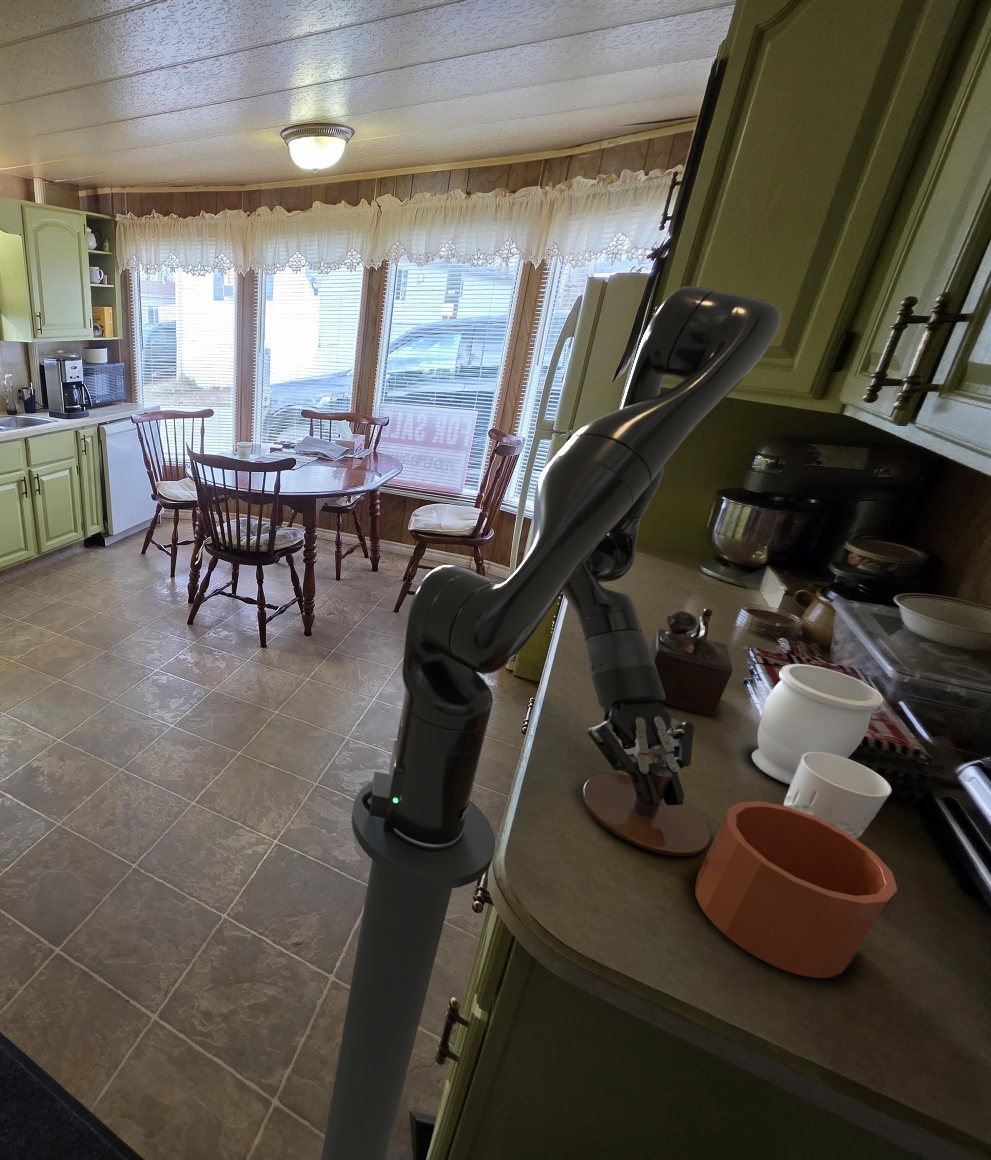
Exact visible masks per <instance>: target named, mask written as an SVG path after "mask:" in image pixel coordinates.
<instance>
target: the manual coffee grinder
mask: <svg viewBox="0 0 991 1160" xmlns="http://www.w3.org/2000/svg"><path fill="white" fill-rule="evenodd" d="M712 615H713V610H712V609H711V608H704V609H702V615H700V616H699V618H698V620H697V617H695V615H693V613H689V612H687V611H684V610H682V611H672V613H670V614H669V615H667V617H666V619H665V621H666V623H667V625H668V630H667V629H663V628H658V629H657V630H656V631H655V635H654V637H653V640H652V643H651V645H650V650H651V652H652V656H653V659H654V662H655V665H656V668H657V671H658V674H659V677H660V680H661V683H662V686H663V690H664V693H665V696H666V697H665V700H664V706H669V707H672V708H676V709H679V710H683V711H687V712H690V713H693V714H698V715H703V716H706V717H713V716H714V713H715V711H716V709H717V707H718V705H719V703H720V701H721V699H722V696H723V694H724V693H725V690H726V687H727V684H728V683H729V680H730V678H731V676H732V673H733V665H732V662H731V656H730V653H729V649H728V645H727V644H725V643H721V642H717V641H714V640H710V639H707V638H708V635H709V625H710V622H711V616H712ZM698 621H699V622H698ZM698 623H699V624H698ZM696 627H697V628H696ZM694 629H696V630H695V633H691V632H692V631H693V630H694Z"/></svg>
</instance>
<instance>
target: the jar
mask: <svg viewBox="0 0 991 1160" xmlns="http://www.w3.org/2000/svg"><path fill="white" fill-rule="evenodd" d="M778 677H779V679H780V680H779V681H778V682H777V684H776V685H774V687H773V688H772V690H771V691H770V693H769V695H768V696H767V697H766V698H767V699H766V700H765V702H764V704H763V707H762V711H761V715H760V721H759V722H760V723H759V726H758V730H757V738H756V739H757V745H758V746H757V747H758V748H757V749H755V750H753V752H752V754H751V760H752V761H753V763H754V764H755V766H756V767H757V768H758V769H759V770H761V771H762V772H764V773H765V774H767V775H768V776H770V777H772V778H773V779H775V780H777V781H780V782H782V783H784V784H787V785H789V786H790V785H791V782H792V780H793V778H794V775H795V773H796V770H797V768H798V766H799V763H800V761H801V758H802V756H803V755H804V754H805V753H808V752H824V753H829V754H834V755H838V756H841V757H844V758H847V759H849V757H850V756H851V755H852V754H853V753H854V752H855V751H856V750H857V748H858V747H859V746H860V744H861V743H862V742H863V740H864V738H865V736H866V734H867V732H868V729H869V727H870V726H869V725H870V723H871V718H872V711H875V710H877V709H878V708H880V706H881V705H882V703H883V701H884V697H883V696H882V694H881V693H880V692H879V691H877V690H876V688H873V687H872V686H870V685H869V684H867V683H866V682H864V681H862V680H860V679H857V678H855V677H853V676H850V675H848V674H845V673H842V672H839V671H837V670H833V669H829V668H825V667H821V666H817V665H811V664H805V663H804V664H803V663H789V664H785V665H783V666H781V668H780V670H779V673H778Z"/></svg>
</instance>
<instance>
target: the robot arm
mask: <svg viewBox="0 0 991 1160" xmlns="http://www.w3.org/2000/svg"><path fill="white" fill-rule="evenodd" d="M781 324H782V312H781V310H780V308H779V307H778V306H777V305H776V304H774V303H772V302H770V301H767V300H765V299H761V298H757V297H753V296H748V295H747V296H746V295H741V294H737V293H732V292H726V291H722V290H721V291H720V290H716V289H712V288H706V287H700V286H693V285H685V286H682V287H679V288H678V289H676V290H674V291H673V292H672V293H671V294H670V295H669V296H668V297H666V298H665V300H664V301H663V302H662V303H661V305H660V306H659V307H658V308H657V310H656V312H655V313H654V315H653V316H652V318H651V319H650V322H649V324H648V325H647V328H646V330H645V332H644V334H643V337H642V339H641V342H640V345H639V347H638V350H637V353H636V357H635V358H634V363H633V366H632V369H631V373H630V376H629V380H628V383H627V386H626V389H625V391H624V392H625V393H624V396H623V398H622V403H621V406H620V409H617V410H614V411H613V412H610V413H607V414H606V415H603V416H600V417H598V418H597V419H594V420H592V421H590V422H589V423H587V424H586V425H584V426H582V427H581V428H580V429H579V430H577V431H576V432H574V433H573V435H572V436H571V437H570V438H569V440H567V442H566V443H565V444H564V445H563V446H562V448H561V449H560V450H559V451H558V452H557V453H556V455H554V457H553V458H552V459H551V461H550V462H548V464H547V465H546V466H545V468H544V469H543V470H542V472H541V474H540V475H539V477H538V480H537V482H536V486H535V492H534V500H533V532H532V540H531V544H530V548H529V549H528V552H527V554H526V555H525V557H524V559H523V560H522V562H521V563H520V565H519V566H518V567H517V568H516V570H515V571H514V572H513V573H512V575H511V576H510V577H509V578H508V579H506V580H505V581H504V582H502V583H500V582H498V581H495V580H493V579H491V578H489V577H486V576H483V575H481V574H478V573H476V572H474V571H472V570H470V569H467V568H465V567H461V566H458V565H453V564H446V565H440V566H438V567H436V568H434V569H432V570H431V571H430V572H429V573H427V574H426V576H425V577H423V579H422V580H421V581H420V583H419V584H418V587H417V588H416V589H415V592H414V594H413V596H412V600H411V603H410V605H409V610H408V615H407V621H406V629H405V638H404V639H405V640H404V648H403V656H402V657H403V658H402V666H401V678H402V683H403V686H404V695H403V702H402V705H401V706H402V707H401V713H400V719H399V724H398V731H397V736H396V739H394V740H393V741H394V742H393V746H392V751H391V752H392V753H391V759H390V763H389V764H390V765H389V770H388V773H384V772H379V771H373V778H372V781H373V783H372V790H371V791H369V792H367V793H366V794H364V795H363V797H362V803H363V805H364V807H365V808H366V809H367V810H368V811H369V812H370V816H375V817H379V818H384V826H383V830H384V831H385V832H389V833H392V834H394V835H395V836H396V837H397V838H399V839H400V840H402V841H403V842H405V843H407V844H408V845H410V846H413V847H415V848H418V849H422V850H427V851H444V850H447V849H450V848H452V847H454V846H455V845H457V844H458V842H459V841H460V839H461V837H462V833H463V828H464V821H465V817H466V814H467V812H468V811H469V810H470V808H471V806H472V802H473V801H474V799H472V800H470V799H471V796H472V792H473V788H474V784H475V779H476V775H477V771H478V766H479V763H480V758H481V754H482V750H483V745H484V743H485V737H486V734H487V729H488V725H489V720H490V717H491V713H492V708H493V703H494V697H493V693H492V690H491V688H490V687H489V685H488V683H487V682H486V681H485V680H484V678H482V676H481V675H483V674H484V675H488V674H494V673H496V672H498V671H500V670H501V669H503V668H504V667H506V666H507V665H508V664H509V663H511V661H513V660H514V659H515V657H517V655H519V653H520V652H521V651H522V650H523V649H524V647H525V646H526V645H527V644H528V642H529V641H530V639H531V637H533V636H534V634H535V632H536V631H537V629H538V628H539V627H540V625H541V623H542V622H543V621H544V620H545V618H546V616H547V615H548V613H549V612H550V610H551V609H552V607H554V605H555V603H556V601H557V600H558V599H559V597H560V596H561V595H563V596H564V598H565V599H566V601H567V603H568V604H569V606H570V607H571V609H572V610H573V612H574V614H575V616H576V619H577V622H578V625H579V630H580V633H581V637H582V640H583V645H584V650H585V657H586V661H587V665H588V670H589V672H590V676H591V680H592V683H593V687H594V690H595V693H596V698H597V701H598V704H599V706H600V707H601V708H603V712H604V713H603V718H602V719H603V722H601V723H600V724H598V725H597V726H592V727H589V728H588V729H587V734H588V737H590V738H591V740H592V742H593V743H594V744H595V745H596V747H597V748H598V750H599V751H600V752H601V754H602V755H603V756H604V758H605V759H606V761H607V762H608V763H609V765H610V766H611V768H612V769H613V770H614V771H620V772H623V773H626V774H627V775H628V776H631V779H632V782H633V786H634V789H635V792H636V796H637V799H638V800H639V802H641V804H642V805H643V806H645V807H648V806H659V804H660V803H659V799H658V796H657V792H656V789H655V786H654V782H653V779H652V776H651V774H649V775H647V773H648V772H649V767H648V764H649V763H648V757H650V759H651V761H652V763H656V764H660V765H663V766H665V767H666V768H668V769H669V770H670V771H671V772H672V777H671V779H670V782H669V784H668V787H667V789H666V792H665V794H664V797H663V798H664V801H665V803H666V804H667V805H682V804H683V800H685V793H684V790H683V787H682V784H681V781H680V778H679V772H680V770H681V769H683V768H687V767H690V766H691V763H692V762H691V761H692V751H693V742H694V732H695V726H694V724H693V723H692V722H690V721H685V722H682V721H679V720H678V719H677V720H676V719H674V718H672V715H671V713H670V712H669V711H668V710H667V708H666V707H665V704H664V700H665V697H666V696H665V693H664V690H663V686H662V683H661V680H660V677H659V674H658V671H657V668H656V665H655V662H654V659H653V656H652V652H651V650H650V648H651V646H650V645H649V643H648V640H647V639H646V637H645V634H644V633H643V628H642V626H641V623H640V620H639V616H638V614H637V610H636V608H635V605H634V603H633V600H632V599H631V597H630V596H628V595H627V594H626V593H622V592H618V591H615V590H610V589H608V588H605V587H603V586H602V585H601V583H608V582H609V583H610V582H614V581H618V580H619V579H621V578H622V577H624V576H625V575H626V574H627V573H628V572H629V570H630V569H631V568H632V566H633V564H634V561H635V556H636V551H637V550H636V549H637V543H638V539H639V533H640V526H641V522H642V519H643V518H644V516H645V515H646V512H647V510H648V508H649V507H650V505H651V503H652V501H653V499H654V497H655V496H656V494H657V492H658V491H659V488H660V486H661V484H662V481H663V477H664V472H665V467H666V465H667V463H669V461H670V460H671V458H672V457H673V456H674V455H675V454H676V452H677V450H678V449H679V448H680V447H681V446H682V445H683V443H684V442H685V441H686V440H687V438H689V436H690V435H691V434H692V433H693V431H695V430H696V428H698V427H699V425H700V424H701V423H702V422H703V421H704V420H705V418H707V417H708V416H709V415H710V413H711V412H713V411H714V409H715V408H716V407H718V406H719V404H720V403H722V401H723V400H724V399H725V398H726V397H727V396H728V395H729V394H730V393H731V392H732V391H733V390H734V389H735V388H736V387H737V386H738V385H739V384H740V383H741V382H742V381H743V380H744V379H745V377H746V376H747V375H749V374H750V372H751V371H752V370H753V369H754V368H755V367H756V365H757V364H758V363H759V362H760V361H761V360H762V358H763V357H764V356H765V354H766V353H767V351H768V350H769V349H770V346H771V345H772V344H773V342H774V340H775V339H776V337H777V335H778V332H779V331H780V326H781ZM665 376H669V377H674V378H676V379H678V380H679V379H680V380H683V381H681V382H680V383H678V384H677V385H675V386H674V387H671V388H670V389H668V390H666V391H664V392H662V393H661V389H662V386H663V382H664V379H665ZM480 674H481V675H480ZM616 737H617V738H616ZM658 746H659V747H658ZM369 798H371V802H370V804H369V803H368V799H369ZM469 800H470V801H471V803H470V804H469ZM473 803H474V802H473ZM468 804H469V805H468Z"/></svg>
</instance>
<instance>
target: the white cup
mask: <svg viewBox="0 0 991 1160" xmlns="http://www.w3.org/2000/svg"><path fill="white" fill-rule="evenodd" d="M892 790H893V789H892V787H891V785H890V783H889V782H888V781H887V780H886V779H885V778H884V777H883V776H882V775H880V774H878V773H877V772H876V771H874V770H873V769H871V768H870V767H868V766H865V765H863V764H862V763H859V762H857V761H855V760H852V759H850V758H844V757H841V756H838V755H834V754H829V753H824V752H808V753H805V754H804V755H803V756H802V758H801V761H800V763H799V766H798V768H797V770H796V773H795V775H794V778H793V780H792V782H791V785H789V788H788V790H787V793H786V796H785V797H784V801H783V806H787V807H790V808H792V809H795V810H798V811H801V812H804V813H806V814H809V815H812V816H815V817H817V818H819V819H821V820H823V821H825V822H827V823H829V824H831V825H833V826H835V827H837V828H838V829H840V830H842V831H844V832H846V833H848V834H849V835H851V836H852V837H854V838H855V839H856V840H858V839H859V838H860V837H862V835H863V833H864V832H865V831H866V829H867V828H868V827H869V826H870V823H871V822H872V821H873V820H874V819H875V817H876V816H877V814H878V813H879V811H880V810H881V808H882V807H883V805H884V804H885V803H886V801H887V800H888V798H889V797H890V795H891V794H892Z"/></svg>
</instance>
